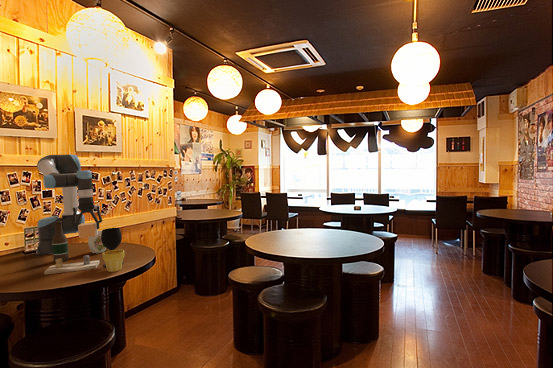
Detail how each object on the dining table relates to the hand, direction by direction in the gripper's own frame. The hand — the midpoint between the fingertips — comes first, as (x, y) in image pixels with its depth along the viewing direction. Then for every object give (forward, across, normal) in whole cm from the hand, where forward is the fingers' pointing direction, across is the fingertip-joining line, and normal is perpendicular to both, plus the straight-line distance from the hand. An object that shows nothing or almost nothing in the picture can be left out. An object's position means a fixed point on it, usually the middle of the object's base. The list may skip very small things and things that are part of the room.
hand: (88, 235), depth 197 cm
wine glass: (+15, +14, -15) cm, 26 cm away
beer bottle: (+15, -17, +9) cm, 25 cm away
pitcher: (+15, +2, +22) cm, 27 cm away
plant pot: (+15, +16, -27) cm, 35 cm away
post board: (+15, -6, -13) cm, 21 cm away
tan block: (0, 0, 0) cm, 0 cm away
